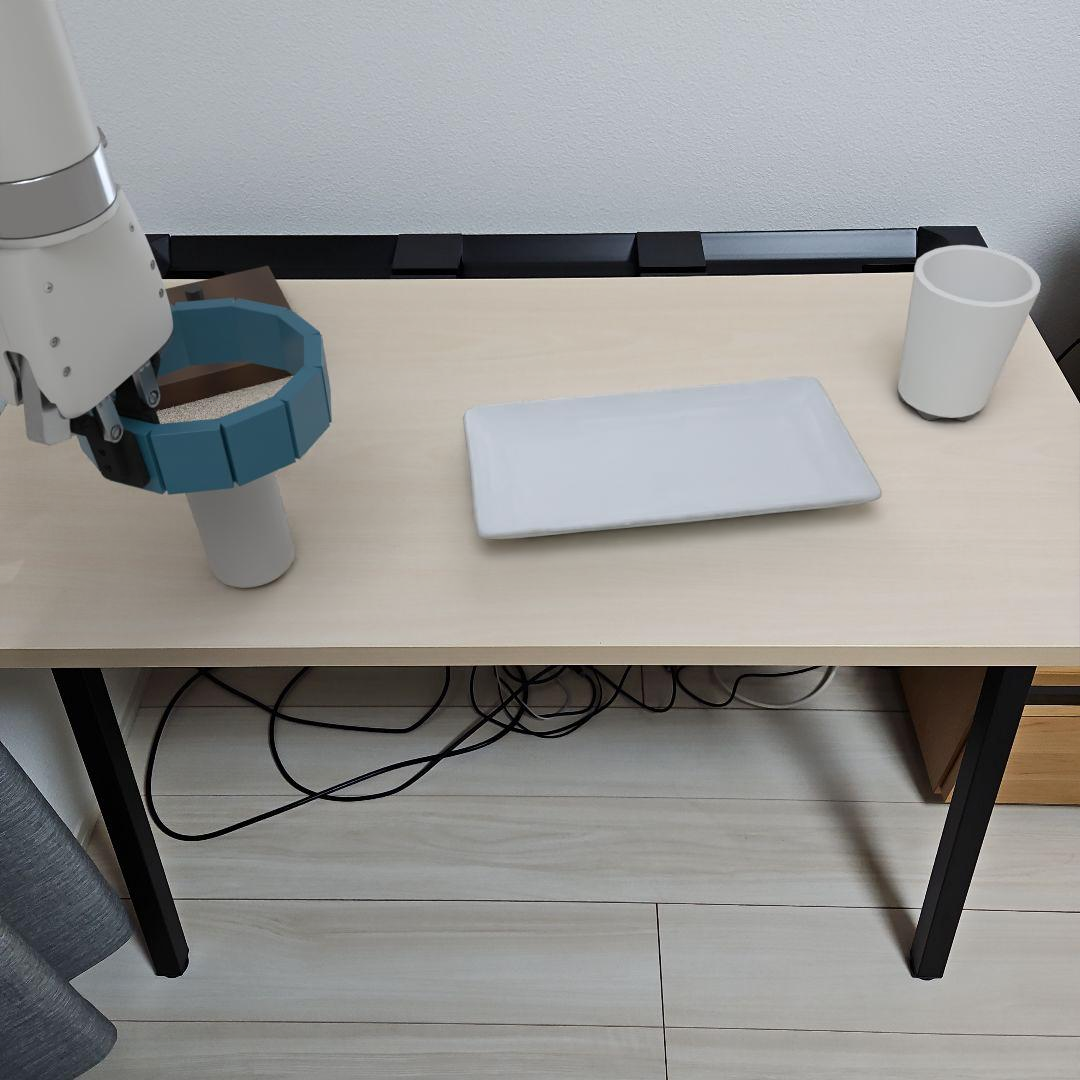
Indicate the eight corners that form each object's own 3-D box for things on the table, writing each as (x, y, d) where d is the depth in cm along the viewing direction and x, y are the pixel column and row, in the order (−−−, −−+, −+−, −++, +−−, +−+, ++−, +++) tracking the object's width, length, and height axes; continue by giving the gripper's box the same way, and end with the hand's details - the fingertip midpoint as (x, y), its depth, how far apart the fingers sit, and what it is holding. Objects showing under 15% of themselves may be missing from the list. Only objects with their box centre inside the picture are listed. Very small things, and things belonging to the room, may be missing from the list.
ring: (97, 523, 63) (75, 463, 60) (67, 384, 74) (47, 328, 71) (365, 454, 68) (357, 395, 65) (299, 333, 79) (289, 279, 76)
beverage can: (288, 594, 78) (254, 471, 70) (203, 594, 79) (159, 472, 70) (303, 535, 83) (274, 414, 75) (223, 535, 83) (185, 414, 75)
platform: (134, 416, 95) (112, 356, 90) (107, 325, 106) (87, 267, 101) (316, 369, 100) (304, 309, 95) (272, 286, 111) (260, 229, 106)
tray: (463, 434, 92) (461, 402, 90) (811, 402, 94) (818, 370, 92) (479, 570, 80) (476, 537, 77) (878, 529, 82) (887, 496, 80)
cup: (1009, 435, 90) (1056, 306, 82) (893, 433, 91) (928, 304, 82) (981, 369, 98) (1022, 244, 89) (874, 367, 98) (904, 242, 89)
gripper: (74, 117, 58) (162, 388, 71) (-148, 248, 48) (2, 538, 61) (188, 135, 57) (257, 410, 69) (-18, 274, 46) (109, 568, 59)
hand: (137, 468), depth 65 cm, fingers closed
